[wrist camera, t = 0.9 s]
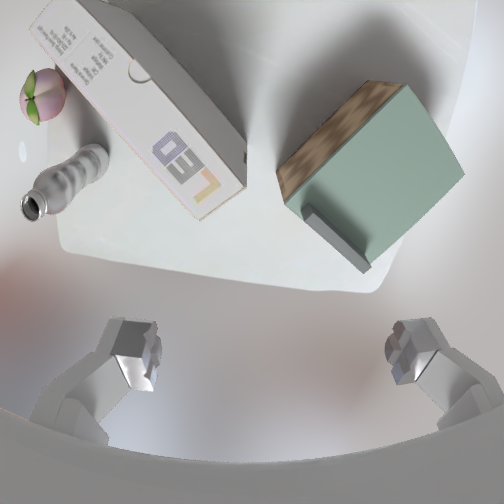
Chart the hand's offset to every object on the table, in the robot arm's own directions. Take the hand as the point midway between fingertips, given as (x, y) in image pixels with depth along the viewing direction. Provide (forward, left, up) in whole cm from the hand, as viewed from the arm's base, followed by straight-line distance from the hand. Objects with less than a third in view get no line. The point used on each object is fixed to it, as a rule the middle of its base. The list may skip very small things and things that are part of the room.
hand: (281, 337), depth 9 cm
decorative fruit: (+14, -33, -40) cm, 54 cm away
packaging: (+2, -15, -40) cm, 43 cm away
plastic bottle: (+20, -19, -40) cm, 49 cm away
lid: (-8, +15, -28) cm, 32 cm away
